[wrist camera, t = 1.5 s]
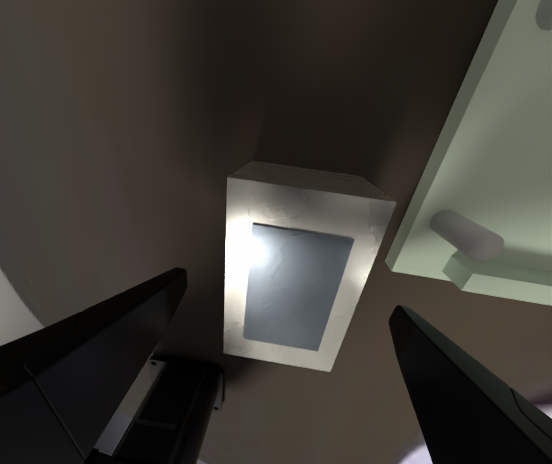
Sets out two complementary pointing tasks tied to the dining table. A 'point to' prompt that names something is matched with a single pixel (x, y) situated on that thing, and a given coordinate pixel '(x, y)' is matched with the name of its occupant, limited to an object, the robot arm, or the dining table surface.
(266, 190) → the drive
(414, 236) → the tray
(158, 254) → the dining table surface
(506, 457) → the robot arm
